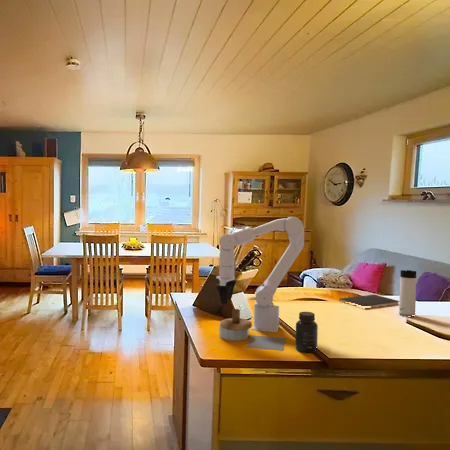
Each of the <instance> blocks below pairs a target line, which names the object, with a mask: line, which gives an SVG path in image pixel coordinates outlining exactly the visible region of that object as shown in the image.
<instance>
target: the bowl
mask: <svg viewBox="0 0 450 450" xmlns="http://www.w3.org/2000/svg"><path fill="white" fill-rule="evenodd" d="M249 329H250V328H249ZM249 329H246V330H238V331H236V330H227V329H224V328H222V327H221V326H220V324H219V327H218V332H219V333H218V337H220V338H221V339H223V340H226V341H233V342H236V341H243V340H244V341H245V340H246V339H248V337H249Z"/></svg>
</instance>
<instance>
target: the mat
mask: <svg viewBox="0 0 450 450" xmlns="http://www.w3.org/2000/svg"><path fill="white" fill-rule="evenodd" d="M286 338H287V337H278V336H267V335H254V334H252V335H251V334H250V338H249V340H248V341H247V344H246V346H245V348H251V349H258V350H259V349H260V350H261V349H262V350H271V351H280V352H282V351H284V350H285V345H286V340H287V339H286Z"/></svg>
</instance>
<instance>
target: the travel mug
mask: <svg viewBox="0 0 450 450" xmlns="http://www.w3.org/2000/svg"><path fill="white" fill-rule="evenodd" d="M399 274H400V275H399V278H400V279H399V300H398V301H399V302H398V303H399V304H398V305H399V306H398V310H399V311H398V314H400V315H399V316H401V315H403V316H402V317H404V316H412V315H415V316H416V303H417V302H416V300H417V298H416V297H417V270H411V269H406V270H404V269H403V270H402V269H401V270H400V273H399Z"/></svg>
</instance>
